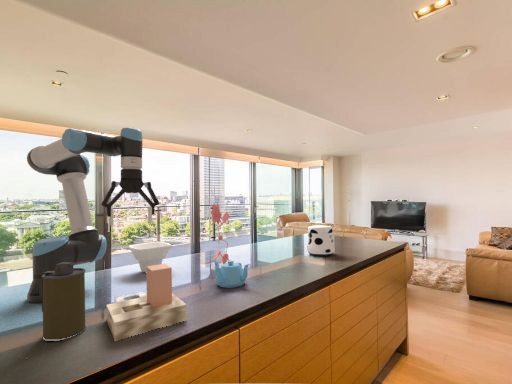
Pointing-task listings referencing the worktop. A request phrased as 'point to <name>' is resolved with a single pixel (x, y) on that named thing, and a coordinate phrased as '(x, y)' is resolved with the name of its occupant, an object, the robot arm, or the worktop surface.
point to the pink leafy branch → (215, 219)
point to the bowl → (150, 253)
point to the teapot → (230, 274)
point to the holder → (130, 297)
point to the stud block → (159, 284)
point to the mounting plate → (143, 316)
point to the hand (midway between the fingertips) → (131, 224)
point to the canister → (63, 301)
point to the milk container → (320, 240)
